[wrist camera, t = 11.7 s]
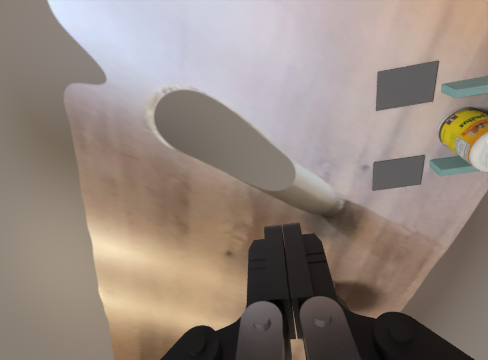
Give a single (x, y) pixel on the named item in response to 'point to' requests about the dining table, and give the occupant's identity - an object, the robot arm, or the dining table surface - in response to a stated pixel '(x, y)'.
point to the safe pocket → (456, 91)
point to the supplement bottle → (467, 136)
